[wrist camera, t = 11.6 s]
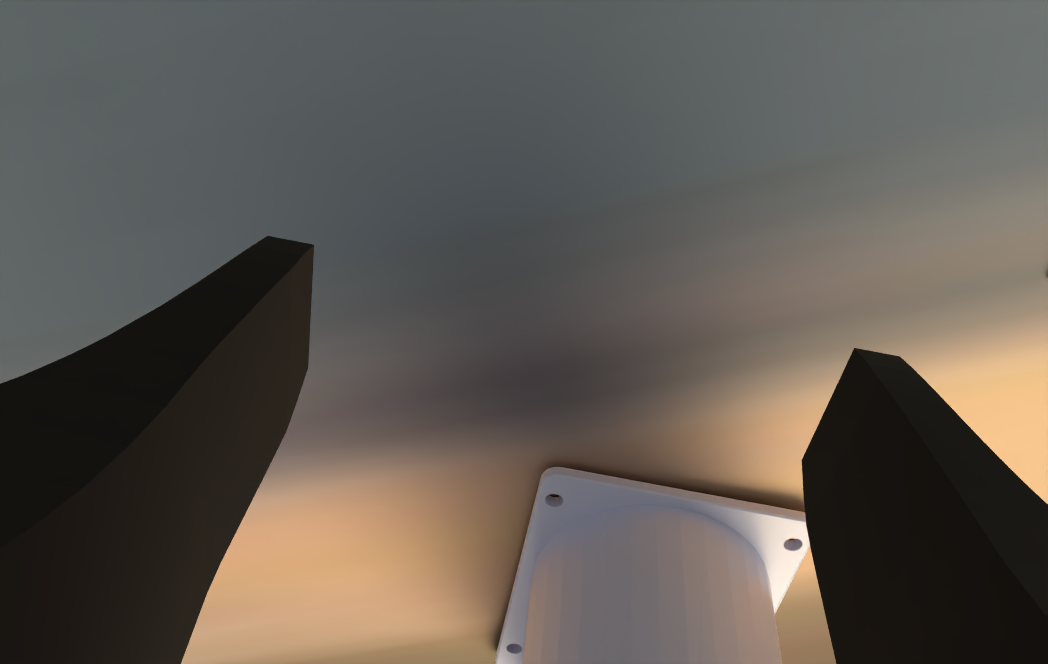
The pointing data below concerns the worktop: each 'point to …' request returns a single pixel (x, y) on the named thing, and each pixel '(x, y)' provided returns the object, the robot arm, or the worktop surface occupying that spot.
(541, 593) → the robot arm
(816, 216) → the worktop surface
